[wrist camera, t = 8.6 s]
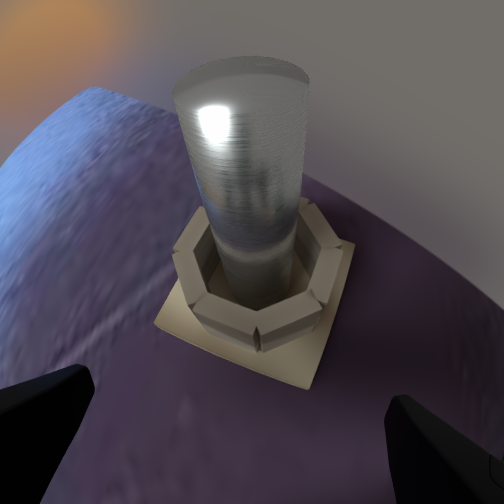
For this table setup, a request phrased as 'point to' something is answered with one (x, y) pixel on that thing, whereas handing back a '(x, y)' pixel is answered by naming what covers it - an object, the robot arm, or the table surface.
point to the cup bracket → (268, 319)
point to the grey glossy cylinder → (248, 165)
